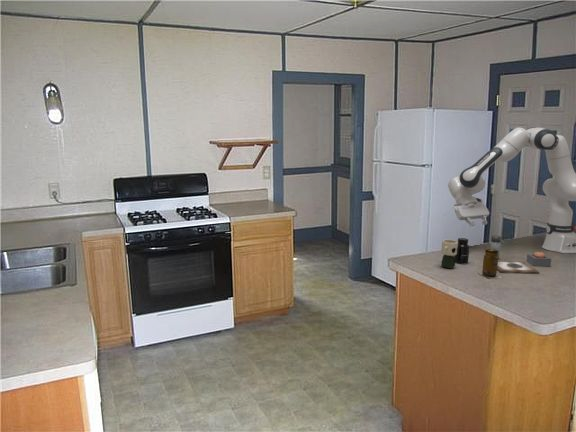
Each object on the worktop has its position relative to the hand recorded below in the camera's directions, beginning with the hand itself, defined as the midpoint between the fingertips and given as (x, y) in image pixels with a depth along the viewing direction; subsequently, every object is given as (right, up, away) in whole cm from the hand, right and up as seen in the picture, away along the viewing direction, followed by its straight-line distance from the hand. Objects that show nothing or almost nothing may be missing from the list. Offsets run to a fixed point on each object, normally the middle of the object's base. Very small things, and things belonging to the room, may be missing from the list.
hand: (479, 224), depth 252 cm
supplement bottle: (-14, -19, -13) cm, 27 cm away
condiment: (-8, -23, -33) cm, 41 cm away
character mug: (-24, -20, -22) cm, 38 cm away
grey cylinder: (+5, -17, -7) cm, 19 cm away
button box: (+24, -19, -14) cm, 34 cm away
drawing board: (+7, -20, -22) cm, 31 cm away
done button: (+24, -16, -15) cm, 32 cm away
